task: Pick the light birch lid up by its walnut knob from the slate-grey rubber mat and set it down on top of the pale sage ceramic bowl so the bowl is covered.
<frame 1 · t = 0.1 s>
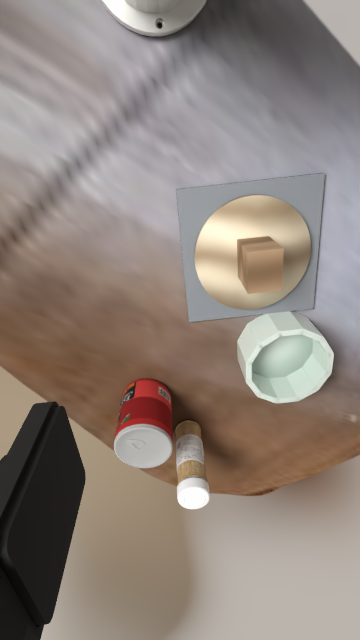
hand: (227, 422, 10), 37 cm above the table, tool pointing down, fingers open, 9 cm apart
mat: (249, 253, 45), on the table
canned food: (147, 395, 55), on the table
lid: (250, 254, 45), point 1 cm above the table, touching mat
bowl: (276, 345, 52), on the table
sprinkles bottle: (187, 428, 59), on the table
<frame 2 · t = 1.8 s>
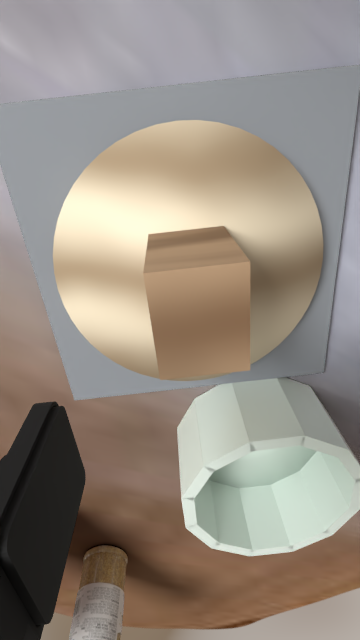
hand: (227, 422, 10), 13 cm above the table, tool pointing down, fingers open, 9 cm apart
mat: (187, 264, 21), on the table
lid: (188, 267, 20), point 1 cm above the table, touching mat
bowl: (252, 434, 28), on the table
sprinkles bottle: (106, 553, 35), on the table
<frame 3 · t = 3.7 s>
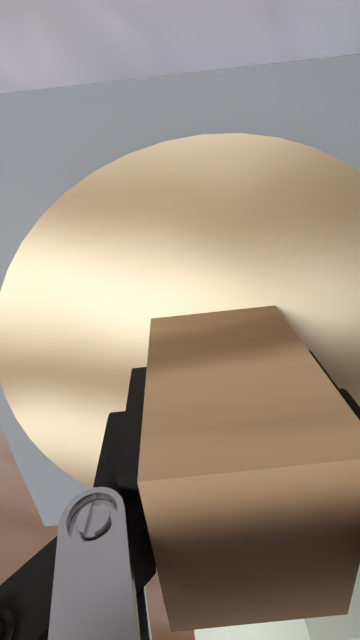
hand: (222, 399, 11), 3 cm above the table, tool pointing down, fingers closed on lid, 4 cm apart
mat: (210, 349, 14), on the table
lid: (212, 357, 13), point 1 cm above the table, touching gripper, mat
bowl: (291, 556, 20), on the table
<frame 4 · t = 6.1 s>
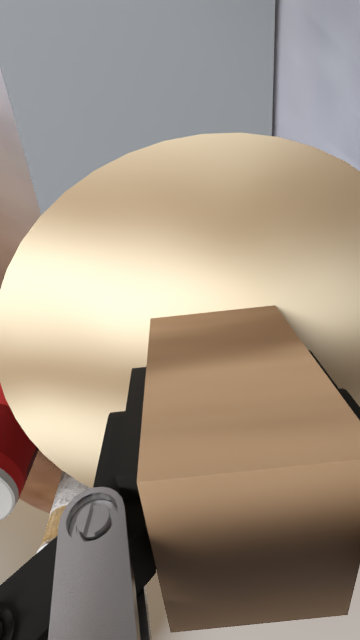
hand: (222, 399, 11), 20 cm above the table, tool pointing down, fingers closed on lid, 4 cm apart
mat: (149, 146, 25), on the table
canned food: (17, 398, 35), on the table
lid: (212, 357, 13), point 18 cm above the table, touching gripper
sprinkles bottle: (90, 446, 39), on the table
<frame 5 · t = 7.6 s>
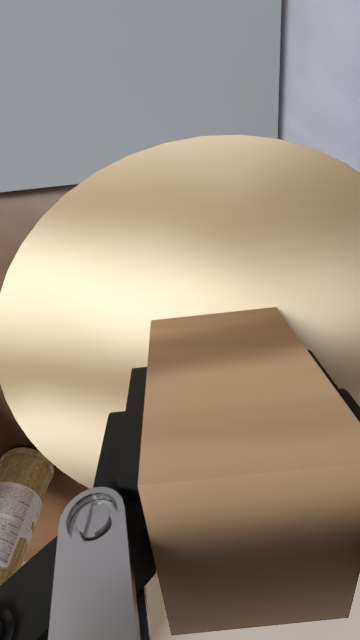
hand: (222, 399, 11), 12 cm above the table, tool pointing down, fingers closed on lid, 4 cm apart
lid: (212, 359, 13), point 10 cm above the table, touching gripper
sprinkles bottle: (29, 461, 28), on the table
when the fingers open (10 cm above the table, at t = 8.7 s): lid drops 1 cm, resting on bowl.
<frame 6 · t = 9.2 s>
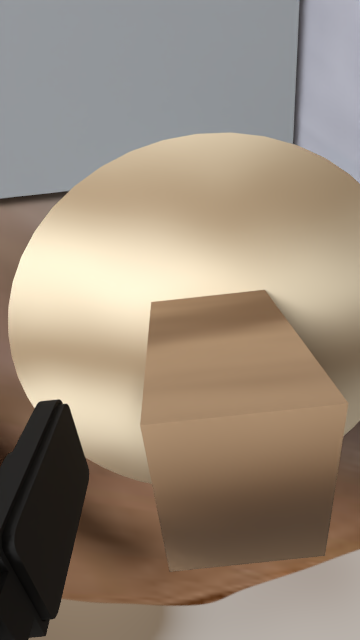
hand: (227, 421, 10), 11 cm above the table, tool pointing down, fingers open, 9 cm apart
lid: (208, 340, 14), point 6 cm above the table, touching bowl
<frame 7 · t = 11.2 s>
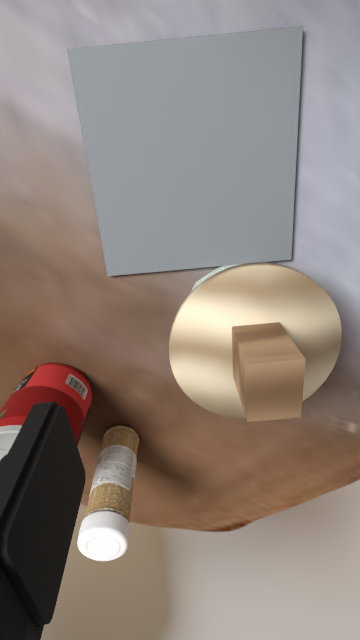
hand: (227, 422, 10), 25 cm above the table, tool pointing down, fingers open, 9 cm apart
mat: (192, 167, 30), on the table
canned food: (59, 388, 39), on the table
lid: (252, 343, 30), point 6 cm above the table, touching bowl
sprinkles bottle: (121, 436, 42), on the table
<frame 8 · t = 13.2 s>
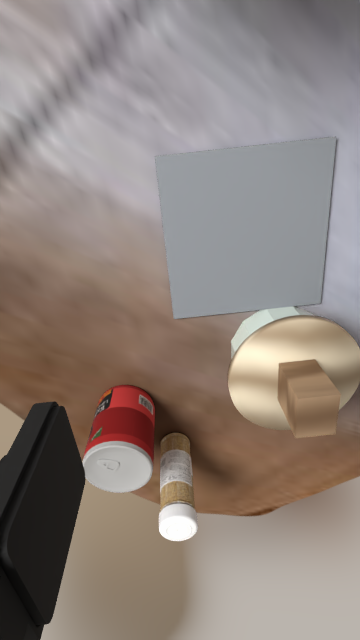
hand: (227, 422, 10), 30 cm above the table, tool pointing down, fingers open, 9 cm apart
mat: (245, 236, 38), on the table
canned food: (127, 404, 48), on the table
lid: (292, 373, 39), point 6 cm above the table, touching bowl
bowl: (276, 347, 44), on the table
sprinkles bottle: (175, 441, 51), on the table
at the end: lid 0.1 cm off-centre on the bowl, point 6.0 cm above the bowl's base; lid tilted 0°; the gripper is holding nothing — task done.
